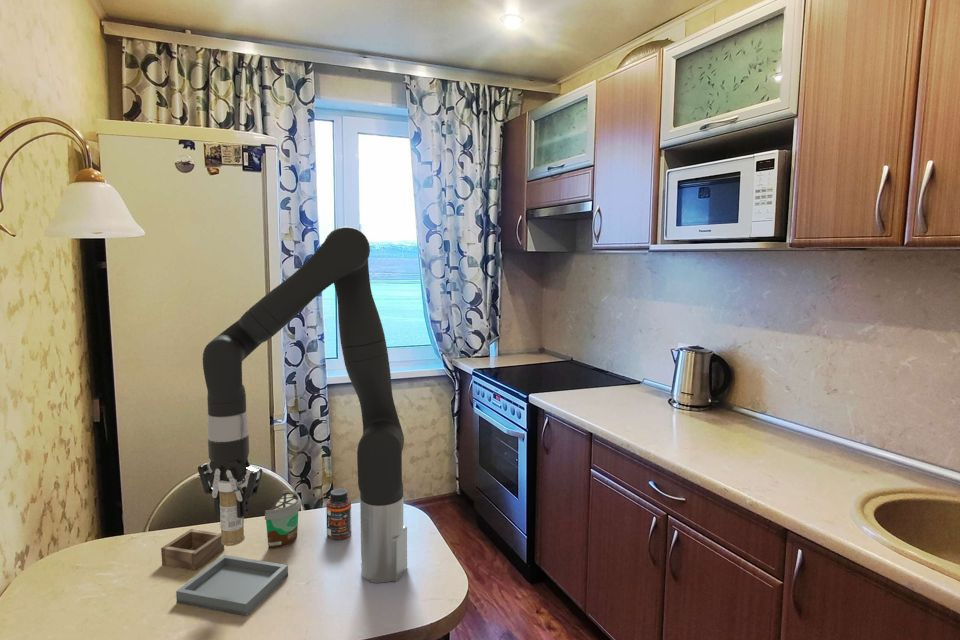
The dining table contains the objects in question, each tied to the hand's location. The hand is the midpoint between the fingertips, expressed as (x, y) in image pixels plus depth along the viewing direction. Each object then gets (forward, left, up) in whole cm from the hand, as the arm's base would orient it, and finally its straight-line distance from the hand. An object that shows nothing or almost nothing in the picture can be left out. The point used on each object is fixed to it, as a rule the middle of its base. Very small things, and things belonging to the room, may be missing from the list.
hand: (231, 514), depth 115 cm
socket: (+17, -8, -16) cm, 25 cm away
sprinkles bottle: (0, 0, -6) cm, 6 cm away
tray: (0, 0, -16) cm, 16 cm away
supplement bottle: (-10, -26, -16) cm, 32 cm away
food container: (+1, -21, -16) cm, 27 cm away
